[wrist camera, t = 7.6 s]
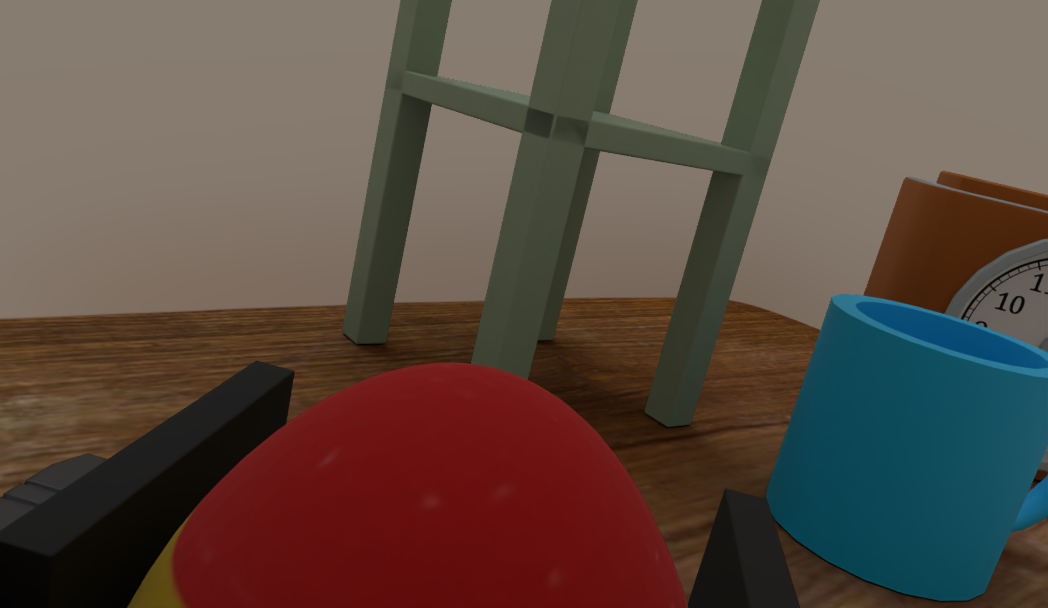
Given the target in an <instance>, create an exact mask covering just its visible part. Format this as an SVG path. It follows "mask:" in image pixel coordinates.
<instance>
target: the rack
mask: <svg viewBox="0 0 1048 608" xmlns="http://www.w3.org/2000/svg"><path fill="white" fill-rule="evenodd" d="M637 1H638V0H552V2H551V6H550V10H549V15H548V19H547V24H546V29H545V33H544V37H543V42H542V46H541V52H540V55H539V60H538V64H537V69H536V74H535V78H534V82H533V87H532V92H531V96H528V95H523V94H518V93H514V92H509V91H504V90H500V89H495V88H491V87H486V86H482V85H477V84H472V83H468V82H463V81H458V80H454V79H449V78H444V77H440V76H437V75H438V70H439V64H440V59H441V54H442V48H443V43H444V38H445V33H446V28H447V23H448V17H449V12H450V7H451V2H452V0H401V1H400V7H399V12H398V18H397V24H396V29H395V35H394V41H393V46H392V52H391V58H390V63H389V69H388V75H387V80H386V87H385V92H384V98H383V103H382V109H381V114H380V120H379V126H378V131H377V137H376V143H375V148H374V154H373V160H372V166H371V172H370V177H369V182H368V189H367V194H366V199H365V205H364V211H363V217H362V222H361V229H360V233H359V239H358V245H357V250H356V256H355V262H354V268H353V273H352V279H351V285H350V291H349V296H348V302H347V307H346V313H345V318H344V324H343V330H342V331H343V333H344V334H346V335H347V336H348V337H349V338H350V339H351V340H352V341H354V342H355V343H356V344H374V343H386V340H387V335H388V330H389V325H390V319H391V314H392V309H393V304H394V298H395V293H396V288H397V283H398V278H399V273H400V267H401V261H402V257H403V251H404V246H405V241H406V236H407V231H408V225H409V221H410V215H411V210H412V205H413V199H414V195H415V189H416V184H417V178H418V173H419V168H420V163H421V158H422V152H423V148H424V142H425V137H426V132H427V127H428V122H429V116H430V111H431V106H432V104H434V105H437V106H441V107H444V108H447V109H450V110H453V111H456V112H459V113H462V114H465V115H468V116H471V117H474V118H477V119H481V120H484V121H487V122H489V123H493V124H496V125H499V126H502V127H505V128H508V129H511V130H514V131H517V132H520V133H522V136H521V141H520V145H519V150H518V154H517V159H516V163H515V168H514V172H513V177H512V182H511V186H510V190H509V196H508V200H507V204H506V208H505V213H504V217H503V222H502V226H501V231H500V235H499V240H498V244H497V249H496V253H495V258H494V262H493V267H492V271H491V276H490V280H489V285H488V289H487V294H486V298H485V303H484V307H483V312H482V316H481V321H480V325H479V330H478V334H477V338H476V343H475V347H474V352H473V356H472V361H471V364H475V365H482V366H488V367H493V368H497V369H500V370H503V371H506V372H509V373H512V374H515V375H517V376H520V377H522V378H524V379H527V380H528V377H529V373H530V369H531V365H532V361H533V357H534V353H535V349H536V345H537V341H538V340H553V339H554V335H555V330H556V326H557V322H558V318H559V314H560V310H561V306H562V302H563V298H564V294H565V290H566V286H567V282H568V278H569V274H570V270H571V266H572V262H573V258H574V254H575V250H576V246H577V242H578V238H579V234H580V230H581V226H582V222H583V218H584V214H585V210H586V206H587V202H588V198H589V194H590V190H591V186H592V182H593V178H594V173H595V170H596V165H597V162H598V157H599V153H600V151H603V152H608V153H614V154H620V155H626V156H631V157H637V158H643V159H649V160H654V161H660V162H666V163H672V164H677V165H683V166H689V167H694V168H700V169H706V170H711V171H713V174H712V177H711V181H710V184H709V188H708V191H707V195H706V198H705V201H704V205H703V208H702V212H701V215H700V219H699V222H698V226H697V230H696V233H695V236H694V240H693V243H692V247H691V251H690V254H689V258H688V261H687V264H686V268H685V271H684V275H683V278H682V282H681V285H680V289H679V292H678V296H677V299H676V303H675V306H674V310H673V313H672V317H671V320H670V324H669V327H668V331H667V334H666V338H665V341H664V344H663V348H662V351H661V355H660V358H659V362H658V365H657V369H656V372H655V376H654V379H653V383H652V386H651V390H650V393H649V397H648V400H647V404H646V407H645V411H644V412H645V413H646V414H648V415H649V416H651V417H652V418H654V419H656V420H657V421H659V422H660V423H662V424H663V425H665V426H667V427H675V426H683V425H690V424H691V422H692V419H693V415H694V412H695V409H696V406H697V402H698V399H699V396H700V392H701V389H702V386H703V383H704V379H705V376H706V373H707V369H708V366H709V363H710V360H711V356H712V353H713V350H714V346H715V343H716V340H717V337H718V333H719V330H720V327H721V323H722V320H723V317H724V314H725V310H726V307H727V304H728V300H729V297H730V294H731V291H732V287H733V284H734V281H735V277H736V274H737V271H738V267H739V264H740V261H741V258H742V254H743V251H744V248H745V245H746V241H747V238H748V235H749V231H750V228H751V225H752V221H753V218H754V215H755V212H756V208H757V205H758V202H759V198H760V195H761V192H762V189H763V185H764V182H765V179H766V175H767V172H768V169H769V166H770V162H771V159H772V156H773V152H774V149H775V146H776V143H777V139H778V136H779V133H780V129H781V126H782V123H783V120H784V116H785V113H786V110H787V106H788V103H789V100H790V97H791V93H792V90H793V87H794V83H795V80H796V77H797V74H798V70H799V67H800V64H801V60H802V57H803V54H804V51H805V47H806V44H807V41H808V37H809V34H810V31H811V28H812V24H813V21H814V18H815V14H816V11H817V8H818V4H819V1H820V0H762V3H761V6H760V10H759V13H758V17H757V20H756V24H755V27H754V31H753V34H752V38H751V41H750V45H749V48H748V52H747V55H746V58H745V62H744V65H743V69H742V72H741V76H740V79H739V83H738V87H737V90H736V94H735V97H734V100H733V104H732V108H731V111H730V114H729V118H728V122H727V125H726V128H725V132H724V136H723V139H722V142H721V143H718V142H714V141H710V140H706V139H703V138H699V137H695V136H691V135H687V134H683V133H679V132H676V131H672V130H668V129H664V128H661V127H657V126H653V125H649V124H645V123H642V122H638V121H634V120H630V119H626V118H623V117H619V116H615V115H611V114H609V113H610V109H611V105H612V101H613V97H614V93H615V89H616V85H617V81H618V77H619V73H620V69H621V65H622V61H623V57H624V53H625V49H626V45H627V41H628V37H629V33H630V29H631V25H632V21H633V17H634V13H635V8H636V4H637Z"/></svg>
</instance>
